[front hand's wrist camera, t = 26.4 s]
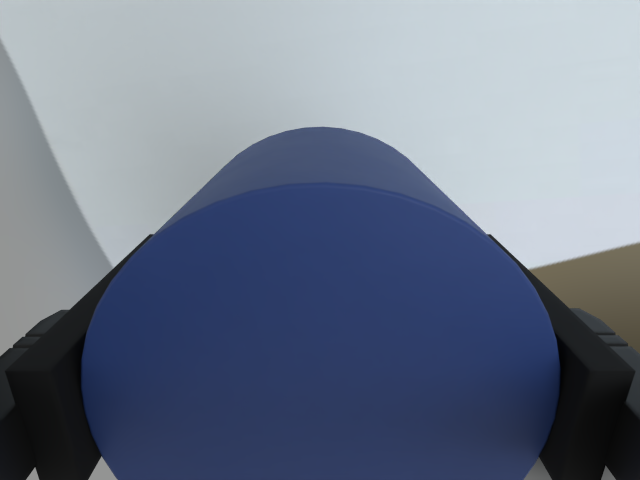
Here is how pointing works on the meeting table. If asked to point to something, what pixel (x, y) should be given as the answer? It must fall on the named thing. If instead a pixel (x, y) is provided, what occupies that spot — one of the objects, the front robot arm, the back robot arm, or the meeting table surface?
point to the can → (320, 330)
